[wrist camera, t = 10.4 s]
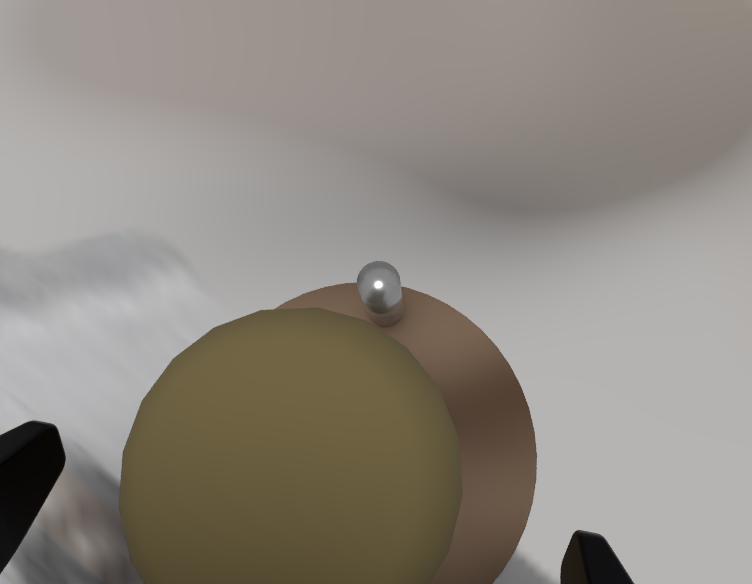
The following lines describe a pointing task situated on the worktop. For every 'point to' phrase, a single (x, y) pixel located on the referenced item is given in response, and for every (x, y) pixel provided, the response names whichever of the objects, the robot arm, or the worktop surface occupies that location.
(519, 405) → the walnut plate
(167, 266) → the worktop surface
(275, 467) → the cork
